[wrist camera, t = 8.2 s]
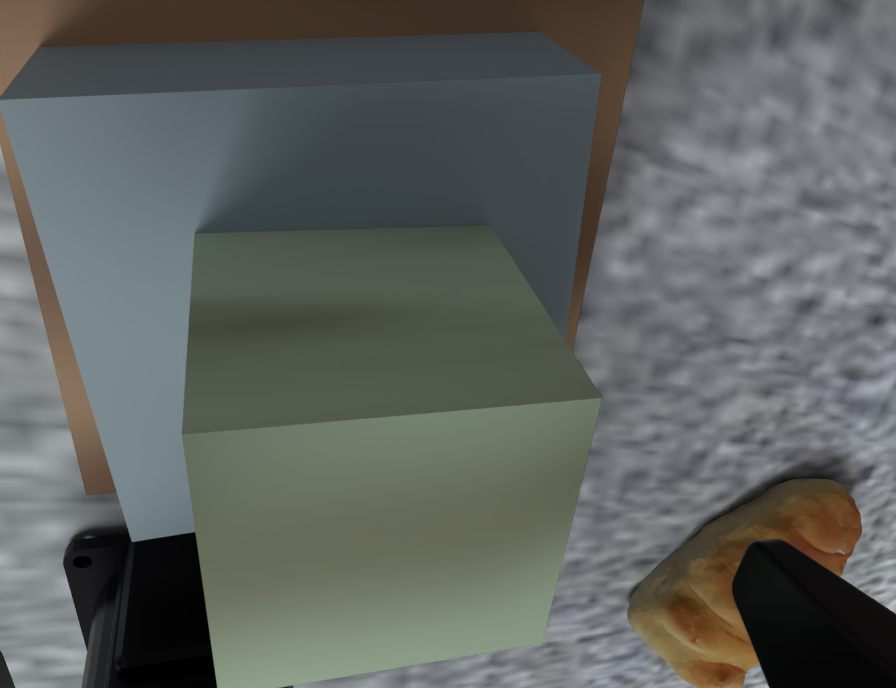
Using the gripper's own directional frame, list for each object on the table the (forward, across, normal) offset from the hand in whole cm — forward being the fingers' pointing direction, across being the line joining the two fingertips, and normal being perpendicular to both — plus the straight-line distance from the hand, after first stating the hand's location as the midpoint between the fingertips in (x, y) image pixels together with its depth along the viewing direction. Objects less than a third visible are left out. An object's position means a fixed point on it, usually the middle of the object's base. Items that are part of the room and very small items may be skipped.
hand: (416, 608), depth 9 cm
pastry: (+12, -16, +16) cm, 25 cm away
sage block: (+6, 0, 0) cm, 6 cm away
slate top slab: (+9, 0, 0) cm, 9 cm away
